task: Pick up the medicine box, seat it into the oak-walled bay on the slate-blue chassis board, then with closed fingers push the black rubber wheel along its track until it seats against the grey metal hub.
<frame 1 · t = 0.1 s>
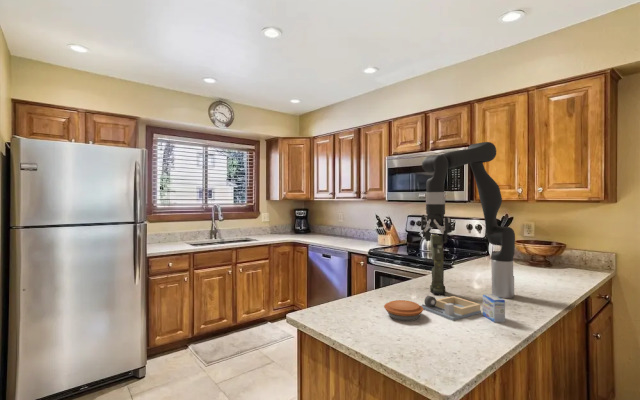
hand: (435, 241, 137), 29 cm above the counter, fingers open, 8 cm apart
pie: (403, 316, 133), on the counter
chassis: (449, 310, 138), on the counter
mechanical leg: (437, 292, 166), on the counter
wheel: (430, 301, 140), point 3 cm above the counter, slide at 0.0 cm
medicine box: (493, 319, 128), on the counter
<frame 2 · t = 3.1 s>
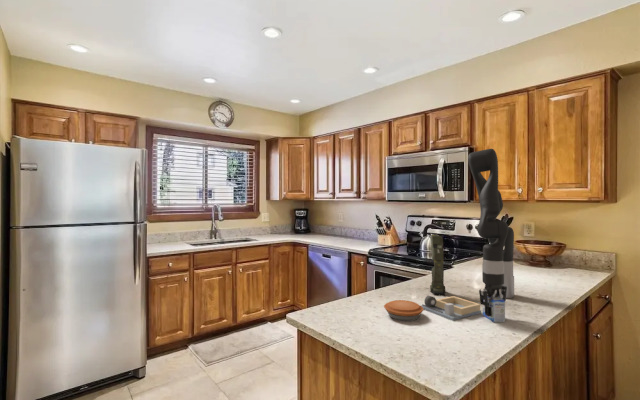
hand: (493, 314, 128), 2 cm above the counter, fingers closed on medicine box, 5 cm apart
medicine box: (493, 319, 128), on the counter, touching gripper
everything else where it was.
when the fingers open (4 cm above the counter, at t = 8.0 s): medicine box drops 1 cm, resting on chassis.
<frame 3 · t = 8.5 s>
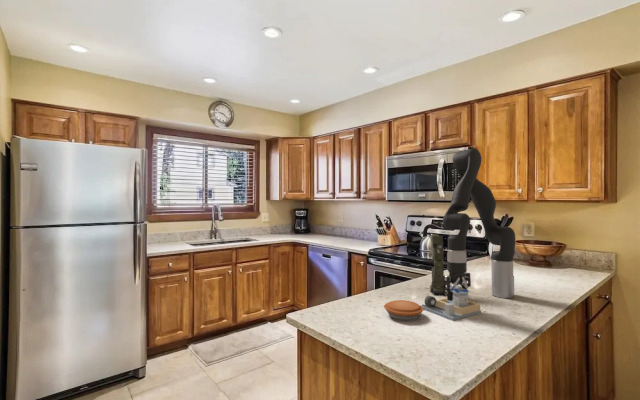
hand: (457, 298, 138), 5 cm above the counter, fingers open, 8 cm apart
medicine box: (458, 308, 138), point 1 cm above the counter, touching chassis
everything else where it was.
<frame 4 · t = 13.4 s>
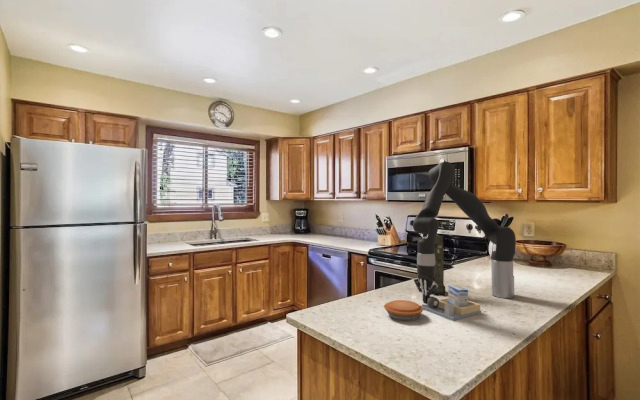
hand: (426, 303, 142), 2 cm above the counter, fingers closed
wheel: (433, 302, 138), point 3 cm above the counter, slide at 1.5 cm, touching gripper
everything else where it was.
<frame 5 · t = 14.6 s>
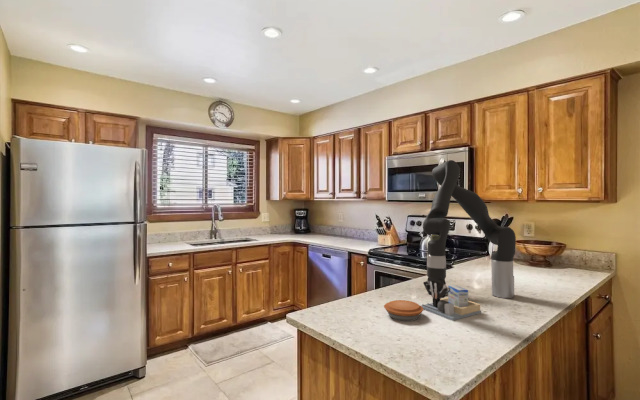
hand: (436, 306, 137), 2 cm above the counter, fingers closed
wheel: (444, 306, 133), point 3 cm above the counter, slide at 7.1 cm, touching gripper
everything else where it was.
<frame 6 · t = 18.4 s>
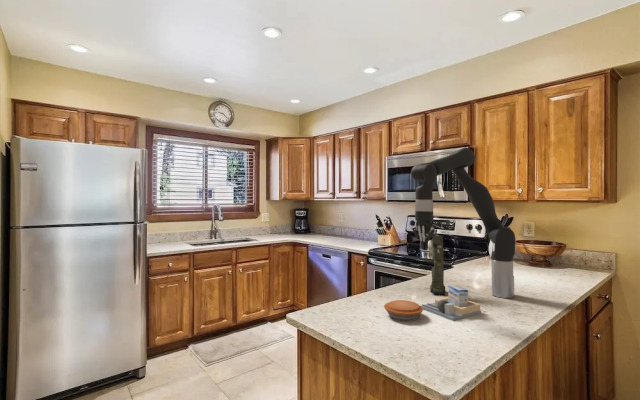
hand: (424, 249, 142), 25 cm above the counter, fingers closed
wheel: (443, 306, 133), point 3 cm above the counter, slide at 7.0 cm
everything else where it was.
at the end: medicine box inside the target area on the chassis (0.5 cm from its centre), point 0.8 cm above the chassis's base; medicine box tilted 0°; wheel slide at 7.0 cm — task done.
